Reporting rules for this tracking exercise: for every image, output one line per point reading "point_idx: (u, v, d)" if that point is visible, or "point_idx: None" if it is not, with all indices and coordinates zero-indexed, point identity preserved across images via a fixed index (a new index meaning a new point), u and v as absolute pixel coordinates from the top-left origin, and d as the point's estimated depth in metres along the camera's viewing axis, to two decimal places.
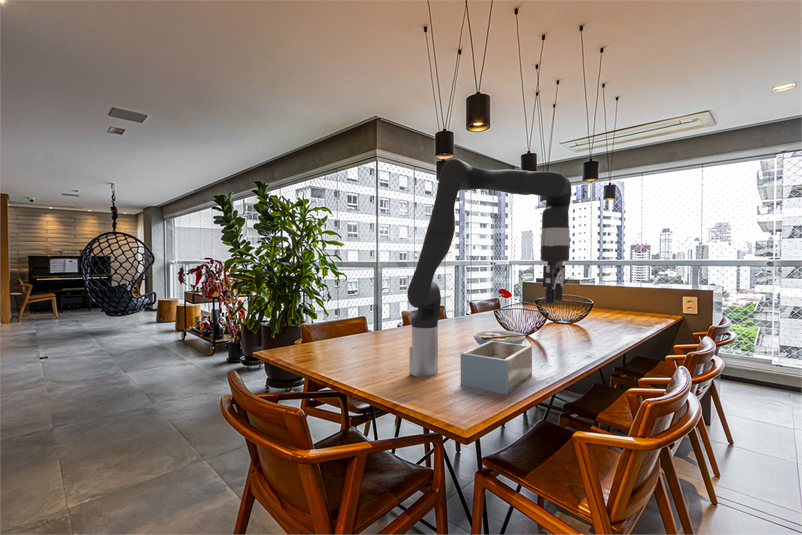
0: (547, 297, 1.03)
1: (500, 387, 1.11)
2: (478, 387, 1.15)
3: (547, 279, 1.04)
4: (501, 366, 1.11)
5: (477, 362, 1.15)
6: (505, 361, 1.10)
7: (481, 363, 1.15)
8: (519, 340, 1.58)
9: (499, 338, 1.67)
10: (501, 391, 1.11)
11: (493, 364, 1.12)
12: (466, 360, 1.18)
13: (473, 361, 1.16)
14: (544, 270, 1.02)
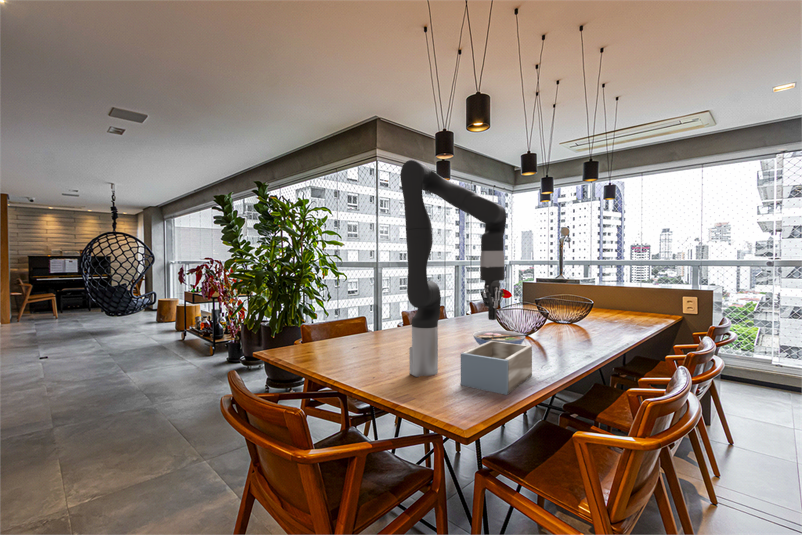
0: (489, 315, 1.19)
1: (500, 387, 1.11)
2: (478, 387, 1.15)
3: None
4: (501, 366, 1.11)
5: (477, 362, 1.15)
6: (505, 361, 1.10)
7: (481, 363, 1.15)
8: (519, 340, 1.58)
9: (499, 338, 1.67)
10: (501, 391, 1.11)
11: (493, 364, 1.12)
12: (466, 360, 1.18)
13: (473, 361, 1.16)
14: (482, 296, 1.16)
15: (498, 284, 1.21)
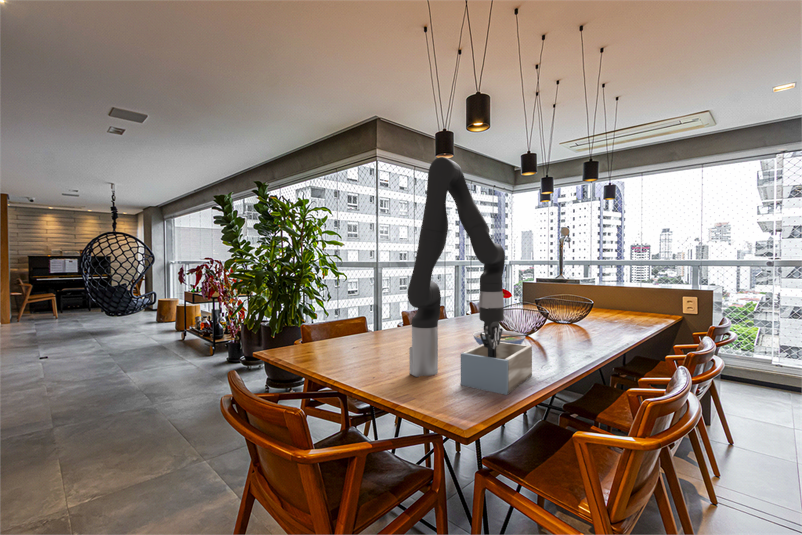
0: (489, 355, 1.19)
1: (500, 387, 1.11)
2: (478, 387, 1.15)
3: None
4: (501, 366, 1.11)
5: (477, 362, 1.15)
6: (505, 361, 1.10)
7: (481, 363, 1.15)
8: (519, 340, 1.58)
9: None
10: (501, 391, 1.11)
11: (493, 364, 1.12)
12: (466, 360, 1.18)
13: (473, 361, 1.16)
14: (481, 338, 1.15)
15: (497, 324, 1.21)
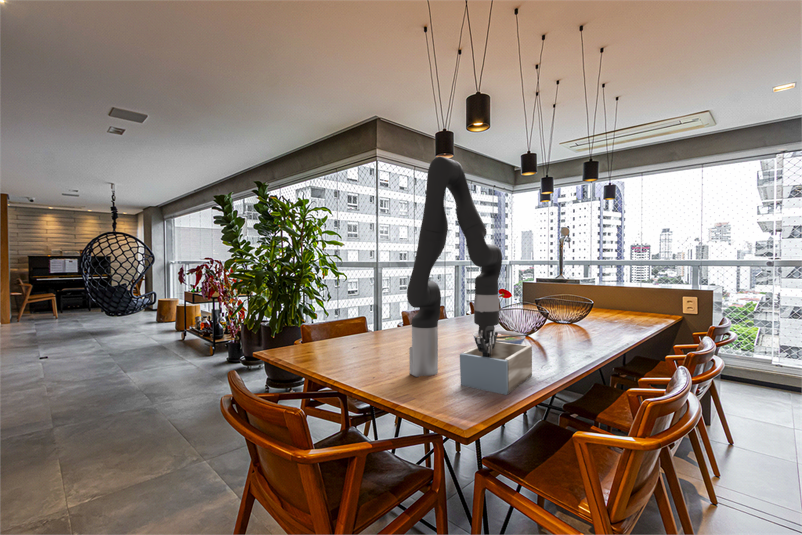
0: None
1: (500, 387, 1.11)
2: (478, 387, 1.15)
3: None
4: (500, 367, 1.10)
5: (476, 362, 1.15)
6: (504, 362, 1.10)
7: (480, 363, 1.14)
8: (519, 340, 1.58)
9: (499, 338, 1.67)
10: (501, 391, 1.11)
11: (492, 365, 1.12)
12: (465, 360, 1.17)
13: (472, 361, 1.16)
14: (476, 342, 1.12)
15: (492, 327, 1.18)
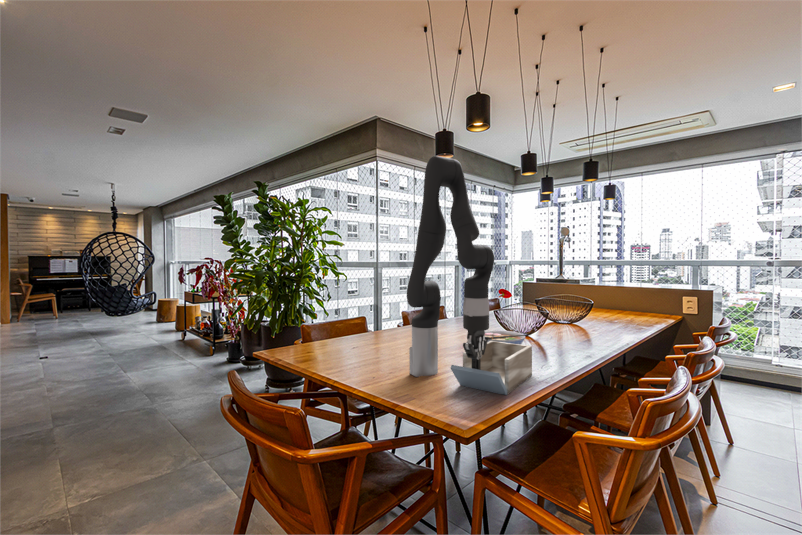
0: (472, 366, 1.10)
1: (499, 391, 1.10)
2: None
3: None
4: (494, 379, 1.07)
5: (469, 374, 1.11)
6: (496, 376, 1.05)
7: (473, 375, 1.10)
8: (519, 340, 1.58)
9: (499, 338, 1.67)
10: (501, 393, 1.11)
11: (485, 377, 1.08)
12: (458, 372, 1.13)
13: (465, 374, 1.12)
14: (464, 348, 1.07)
15: (482, 332, 1.12)
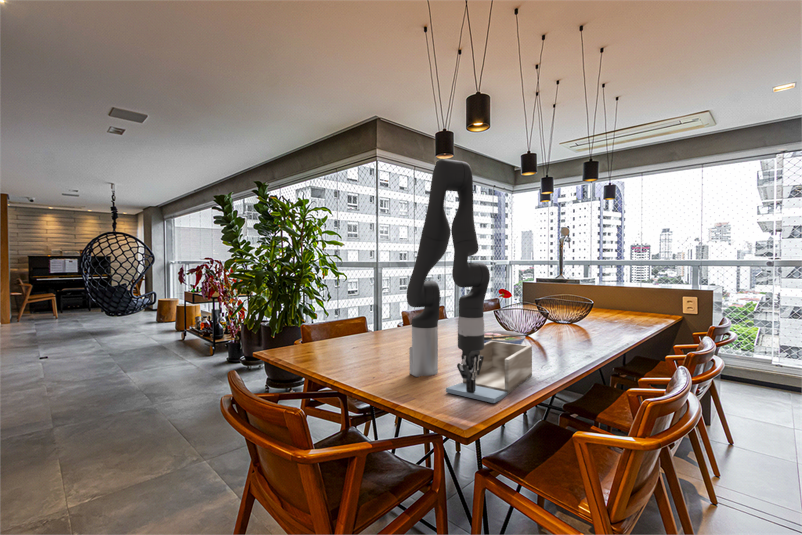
0: (467, 387, 1.08)
1: None
2: None
3: None
4: None
5: None
6: None
7: None
8: (519, 340, 1.58)
9: (499, 338, 1.67)
10: None
11: None
12: None
13: None
14: (459, 369, 1.04)
15: (477, 352, 1.09)
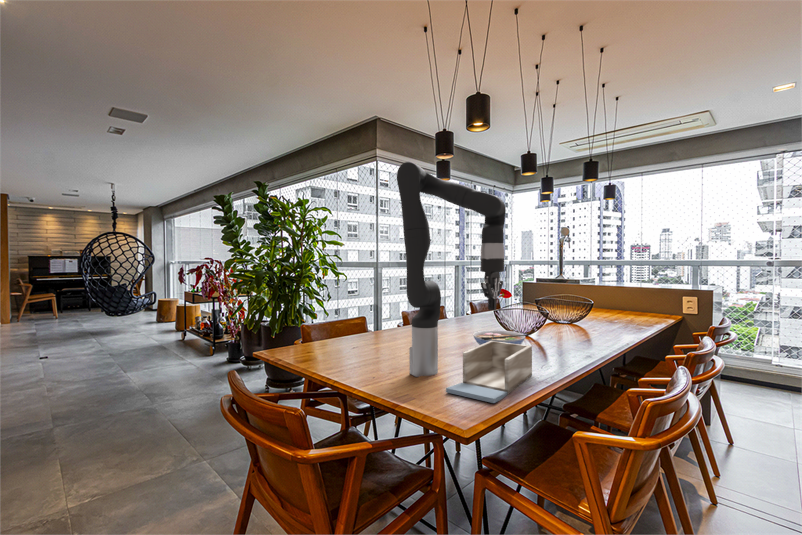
0: (489, 305, 1.23)
1: None
2: None
3: None
4: None
5: None
6: None
7: None
8: (519, 340, 1.58)
9: (499, 338, 1.67)
10: None
11: None
12: None
13: None
14: (482, 287, 1.20)
15: (498, 275, 1.25)
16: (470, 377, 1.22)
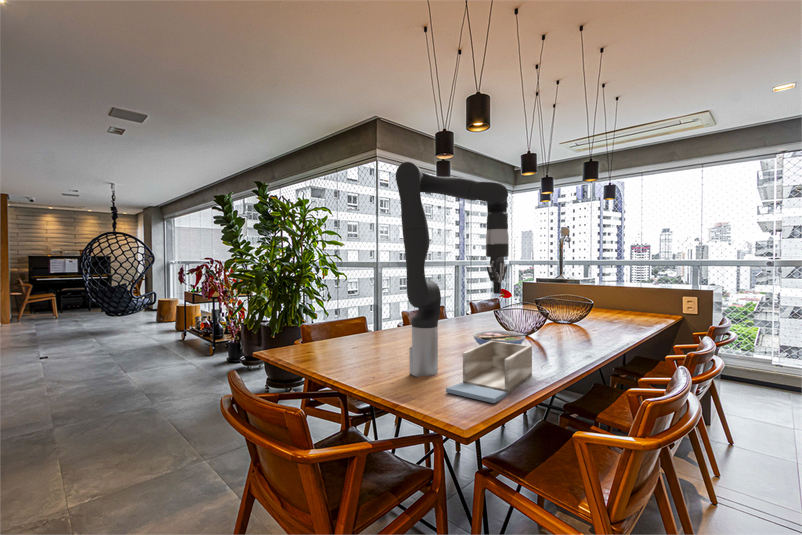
0: (494, 289, 1.29)
1: None
2: None
3: None
4: None
5: None
6: None
7: None
8: (519, 340, 1.58)
9: (499, 338, 1.67)
10: None
11: None
12: None
13: None
14: (488, 271, 1.26)
15: (502, 261, 1.31)
16: (470, 377, 1.22)
